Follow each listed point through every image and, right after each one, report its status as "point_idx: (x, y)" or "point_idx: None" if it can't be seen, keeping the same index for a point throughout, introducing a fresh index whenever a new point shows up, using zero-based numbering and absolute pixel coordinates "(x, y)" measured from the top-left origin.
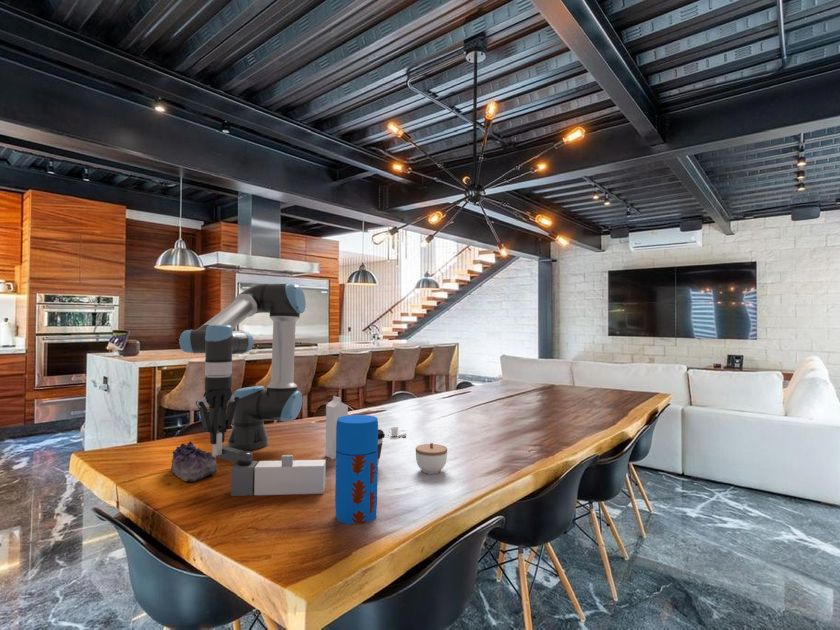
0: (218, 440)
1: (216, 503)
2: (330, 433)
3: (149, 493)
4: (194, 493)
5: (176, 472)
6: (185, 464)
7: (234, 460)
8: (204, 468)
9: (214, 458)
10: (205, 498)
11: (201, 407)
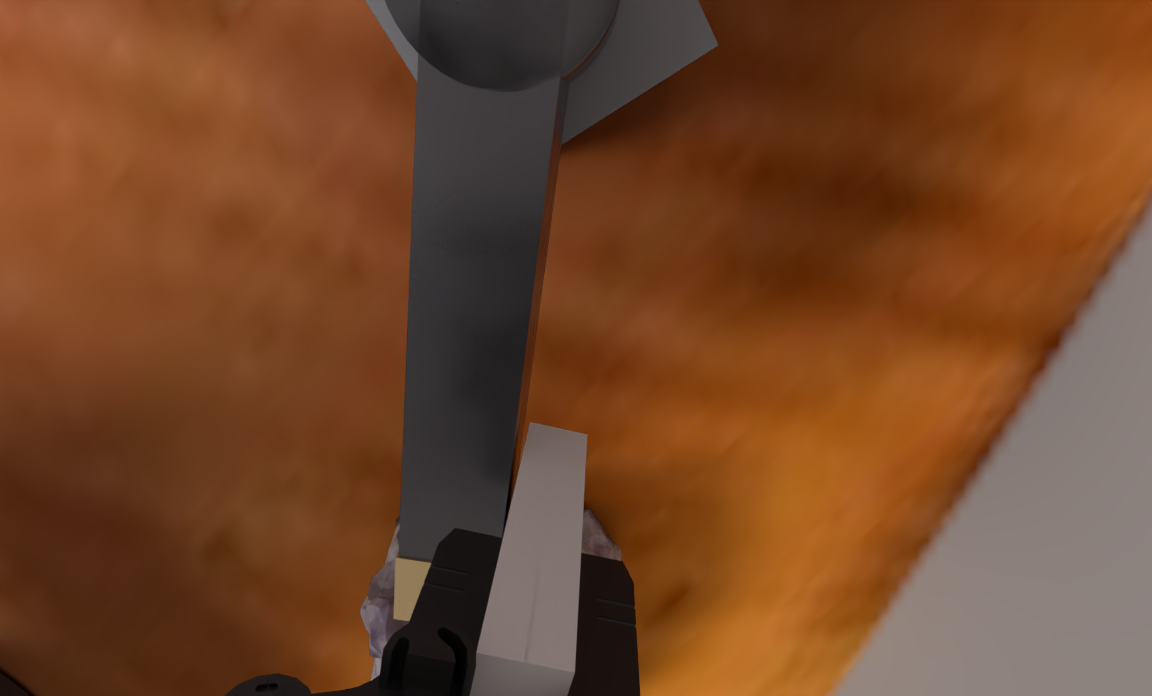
0: (561, 562)
1: (846, 43)
2: None
3: (832, 578)
4: (736, 359)
5: None
6: None
7: (556, 166)
8: None
9: (383, 595)
10: (787, 213)
11: None
